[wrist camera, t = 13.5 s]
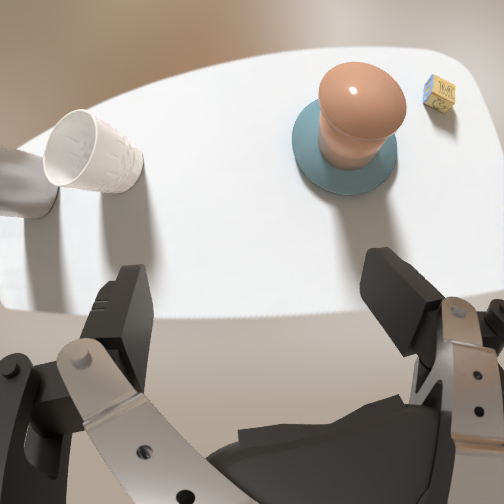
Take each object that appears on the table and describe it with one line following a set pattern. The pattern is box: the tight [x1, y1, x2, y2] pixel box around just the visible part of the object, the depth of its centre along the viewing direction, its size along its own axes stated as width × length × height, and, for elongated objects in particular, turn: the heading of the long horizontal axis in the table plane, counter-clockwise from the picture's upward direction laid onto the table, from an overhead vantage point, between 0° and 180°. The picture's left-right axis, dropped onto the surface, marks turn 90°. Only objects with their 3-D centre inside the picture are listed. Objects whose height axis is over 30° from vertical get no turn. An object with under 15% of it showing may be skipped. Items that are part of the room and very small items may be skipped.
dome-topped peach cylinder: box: [318, 62, 406, 171], centre depth 23 cm, size 6×6×10 cm
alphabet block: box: [423, 74, 455, 113], centre depth 25 cm, size 3×3×3 cm
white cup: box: [43, 110, 143, 193], centre depth 28 cm, size 8×8×10 cm
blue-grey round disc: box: [292, 99, 397, 195], centre depth 28 cm, size 11×11×1 cm
